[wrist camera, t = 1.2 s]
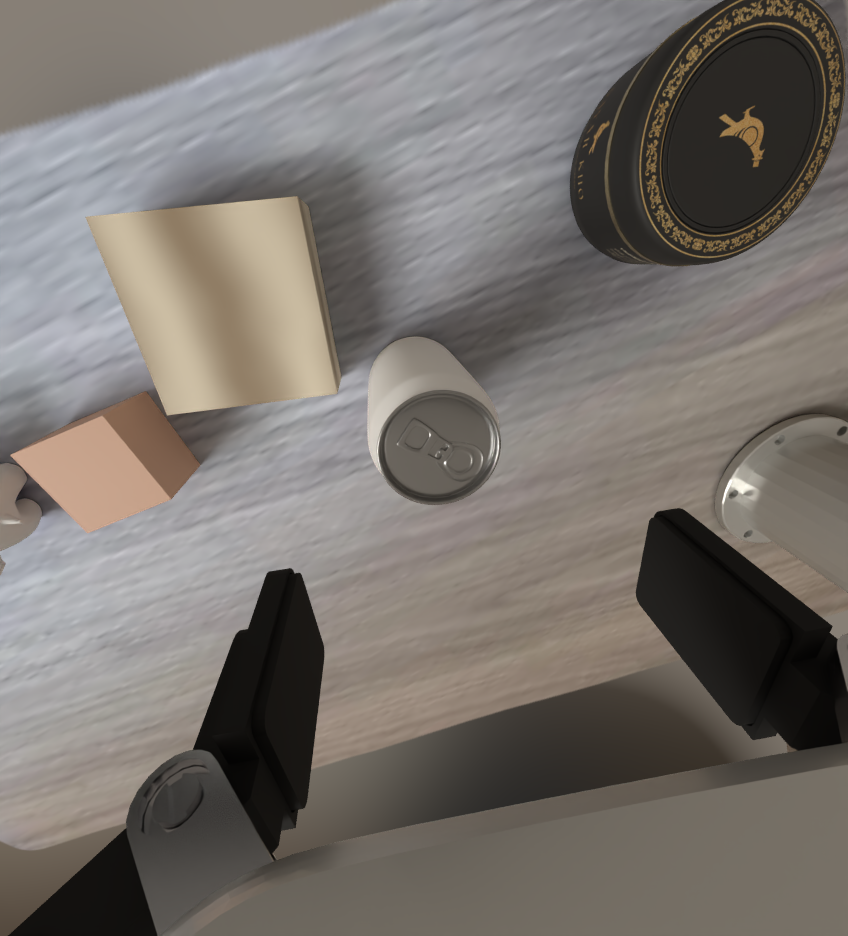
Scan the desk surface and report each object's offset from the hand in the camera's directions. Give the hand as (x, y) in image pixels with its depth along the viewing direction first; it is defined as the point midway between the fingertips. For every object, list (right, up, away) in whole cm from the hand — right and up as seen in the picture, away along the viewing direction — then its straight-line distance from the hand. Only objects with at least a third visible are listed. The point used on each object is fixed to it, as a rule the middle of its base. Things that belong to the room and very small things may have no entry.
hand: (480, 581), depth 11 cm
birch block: (-13, +13, +14) cm, 23 cm away
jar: (+12, +21, +14) cm, 28 cm away
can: (-2, +9, +18) cm, 20 cm away
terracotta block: (-22, +5, +18) cm, 28 cm away
